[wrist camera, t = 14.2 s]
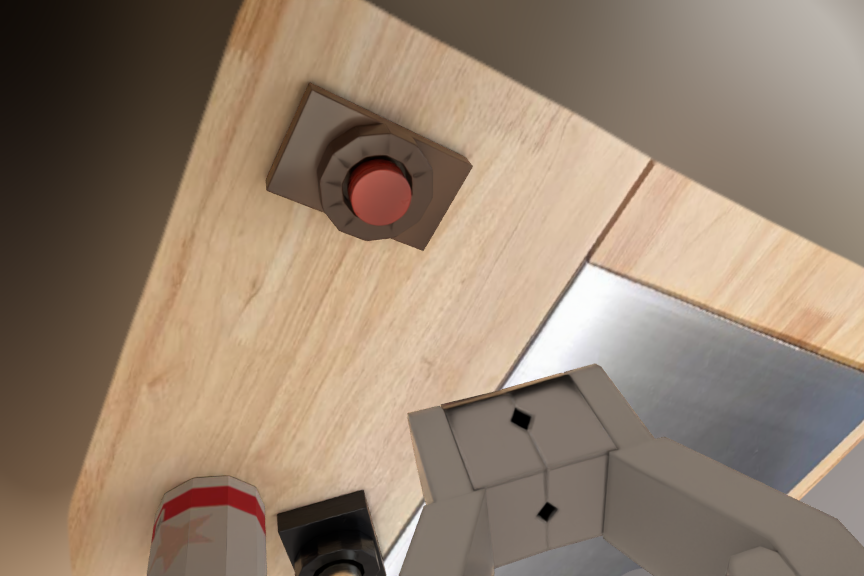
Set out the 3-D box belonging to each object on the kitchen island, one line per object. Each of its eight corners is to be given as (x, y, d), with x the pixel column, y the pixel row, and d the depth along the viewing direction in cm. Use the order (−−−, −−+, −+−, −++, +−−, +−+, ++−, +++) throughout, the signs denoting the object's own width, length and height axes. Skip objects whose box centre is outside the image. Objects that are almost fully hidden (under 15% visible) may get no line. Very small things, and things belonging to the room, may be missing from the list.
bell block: (264, 181, 35) (266, 204, 32) (309, 80, 32) (315, 97, 30) (418, 241, 39) (429, 265, 37) (467, 156, 37) (482, 176, 34)
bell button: (337, 200, 34) (340, 213, 32) (363, 148, 32) (368, 159, 31) (389, 221, 35) (394, 234, 34) (415, 172, 34) (422, 183, 33)
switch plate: (305, 583, 55) (309, 621, 52) (276, 514, 49) (279, 552, 47) (383, 560, 56) (390, 596, 53) (363, 489, 50) (370, 526, 47)
